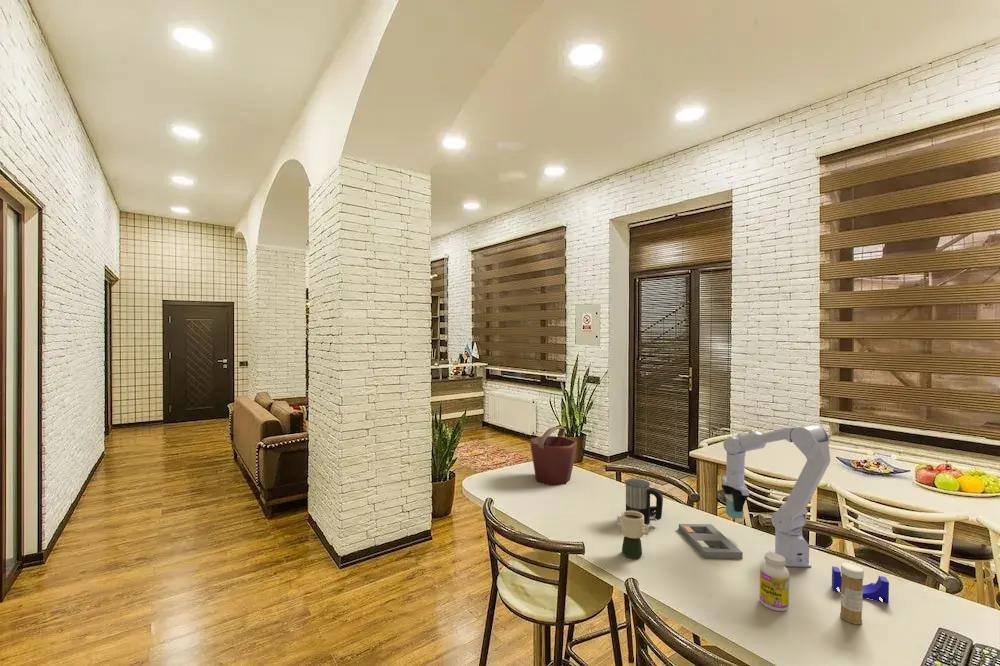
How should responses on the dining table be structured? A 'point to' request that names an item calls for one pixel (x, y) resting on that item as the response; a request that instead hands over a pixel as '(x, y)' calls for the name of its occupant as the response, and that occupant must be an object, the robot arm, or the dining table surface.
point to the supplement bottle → (774, 582)
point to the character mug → (632, 532)
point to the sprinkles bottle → (852, 593)
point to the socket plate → (710, 541)
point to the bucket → (553, 457)
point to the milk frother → (643, 499)
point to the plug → (732, 507)
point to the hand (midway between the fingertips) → (734, 508)
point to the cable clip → (865, 586)
